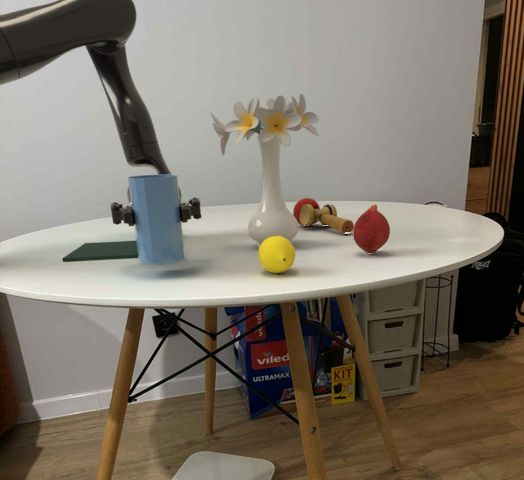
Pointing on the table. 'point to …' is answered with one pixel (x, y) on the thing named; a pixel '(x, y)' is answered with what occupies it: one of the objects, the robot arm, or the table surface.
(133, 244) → the mat
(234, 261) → the table surface
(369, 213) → the onion
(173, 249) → the tumbler
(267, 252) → the lemon
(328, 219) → the kendama
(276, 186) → the flower vase
